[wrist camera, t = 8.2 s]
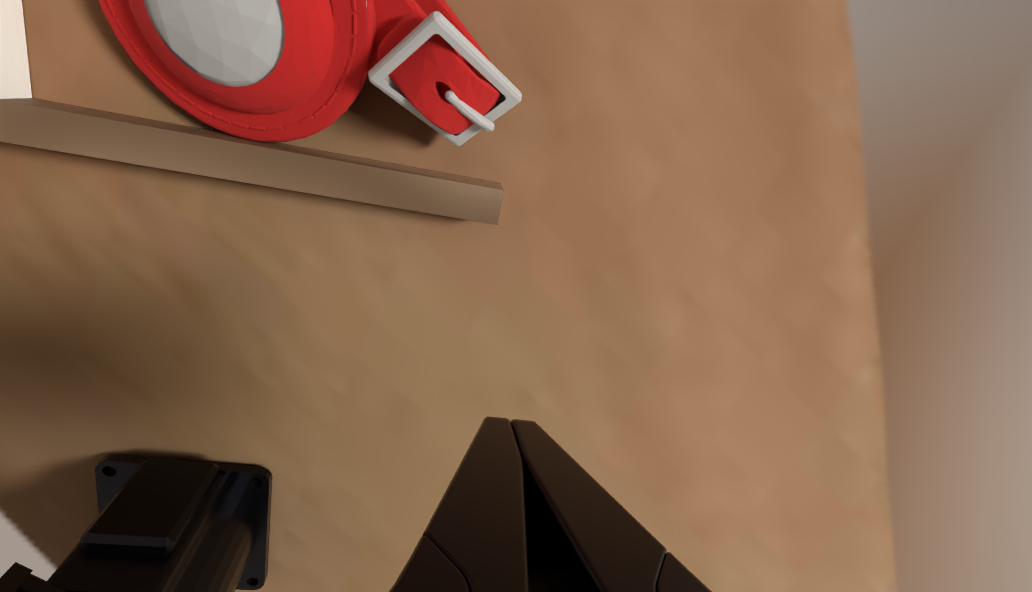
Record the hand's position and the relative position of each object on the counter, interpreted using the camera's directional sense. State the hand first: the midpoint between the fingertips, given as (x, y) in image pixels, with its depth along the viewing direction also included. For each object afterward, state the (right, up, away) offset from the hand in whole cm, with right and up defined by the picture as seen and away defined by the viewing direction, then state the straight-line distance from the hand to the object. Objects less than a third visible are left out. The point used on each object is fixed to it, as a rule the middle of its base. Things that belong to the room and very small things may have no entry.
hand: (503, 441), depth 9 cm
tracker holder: (-6, +11, +8) cm, 15 cm away
